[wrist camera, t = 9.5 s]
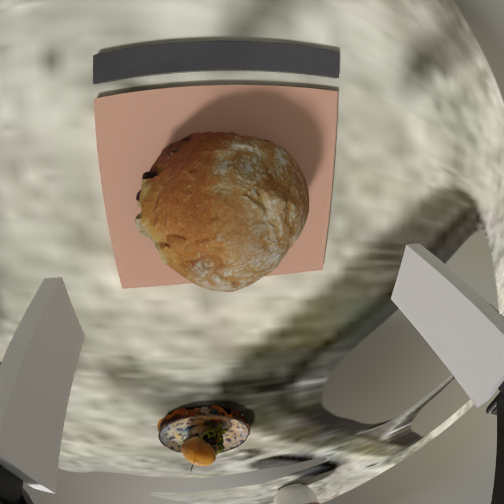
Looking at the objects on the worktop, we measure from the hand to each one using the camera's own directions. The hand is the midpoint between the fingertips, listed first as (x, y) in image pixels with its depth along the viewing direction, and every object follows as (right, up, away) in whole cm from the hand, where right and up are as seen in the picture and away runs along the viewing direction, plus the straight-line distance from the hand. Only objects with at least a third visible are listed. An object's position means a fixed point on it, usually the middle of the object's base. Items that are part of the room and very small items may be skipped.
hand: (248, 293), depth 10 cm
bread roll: (-2, +5, +10) cm, 11 cm away
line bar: (-2, +14, +5) cm, 15 cm away
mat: (-2, +6, +9) cm, 11 cm away
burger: (-6, -21, +23) cm, 32 cm away
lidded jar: (+9, -55, +44) cm, 71 cm away
